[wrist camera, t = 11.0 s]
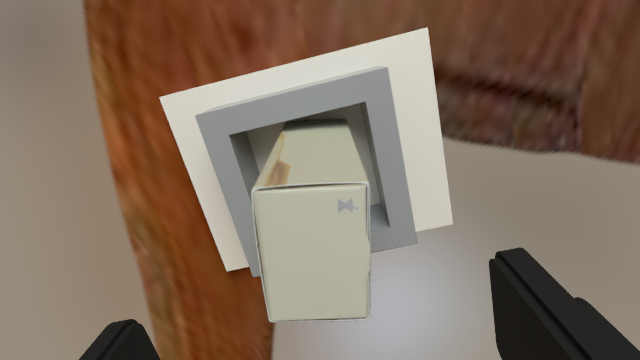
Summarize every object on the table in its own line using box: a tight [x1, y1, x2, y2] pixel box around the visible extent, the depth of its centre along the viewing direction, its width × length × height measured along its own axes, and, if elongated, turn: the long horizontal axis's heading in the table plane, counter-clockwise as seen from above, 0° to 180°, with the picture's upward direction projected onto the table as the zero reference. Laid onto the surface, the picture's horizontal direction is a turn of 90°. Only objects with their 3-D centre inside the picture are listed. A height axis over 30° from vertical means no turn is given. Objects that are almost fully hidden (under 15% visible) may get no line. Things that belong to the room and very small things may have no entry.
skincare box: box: [251, 119, 371, 322], centre depth 18 cm, size 6×4×12 cm
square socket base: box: [159, 27, 453, 277], centre depth 23 cm, size 18×14×5 cm
